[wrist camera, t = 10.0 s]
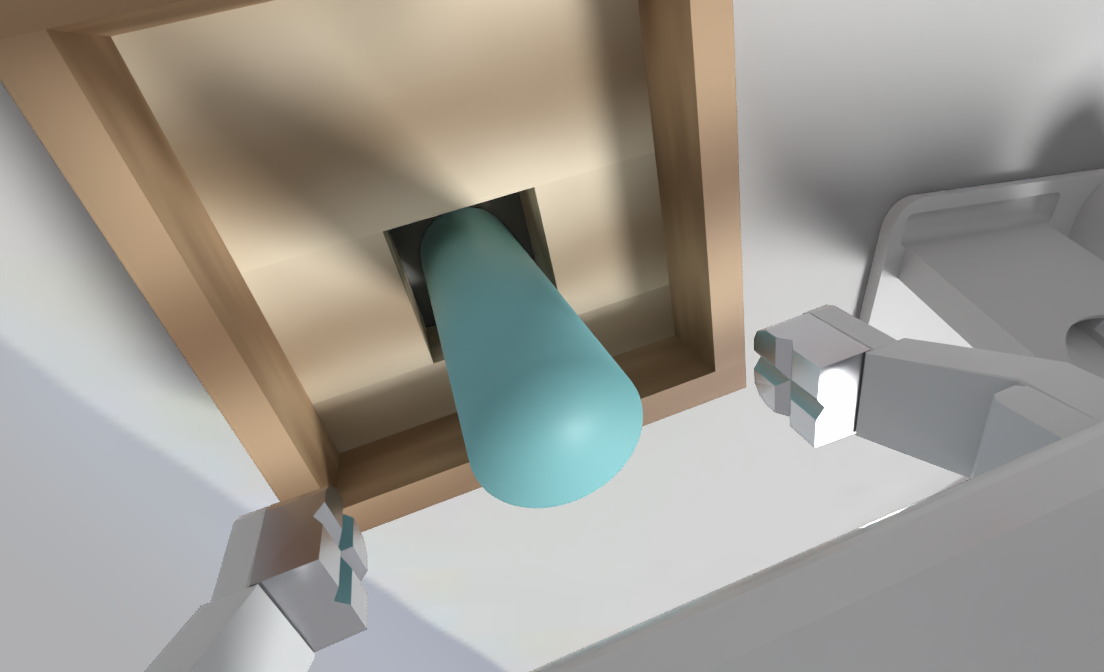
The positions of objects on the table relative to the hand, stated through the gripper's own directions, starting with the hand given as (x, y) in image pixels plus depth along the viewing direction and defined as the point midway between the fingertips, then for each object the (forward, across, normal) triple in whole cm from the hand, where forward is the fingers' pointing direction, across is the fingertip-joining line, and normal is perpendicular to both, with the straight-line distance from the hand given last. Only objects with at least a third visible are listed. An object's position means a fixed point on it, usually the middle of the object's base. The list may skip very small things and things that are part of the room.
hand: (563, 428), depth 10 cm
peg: (+12, 0, +1) cm, 12 cm away
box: (+12, 0, -1) cm, 13 cm away
